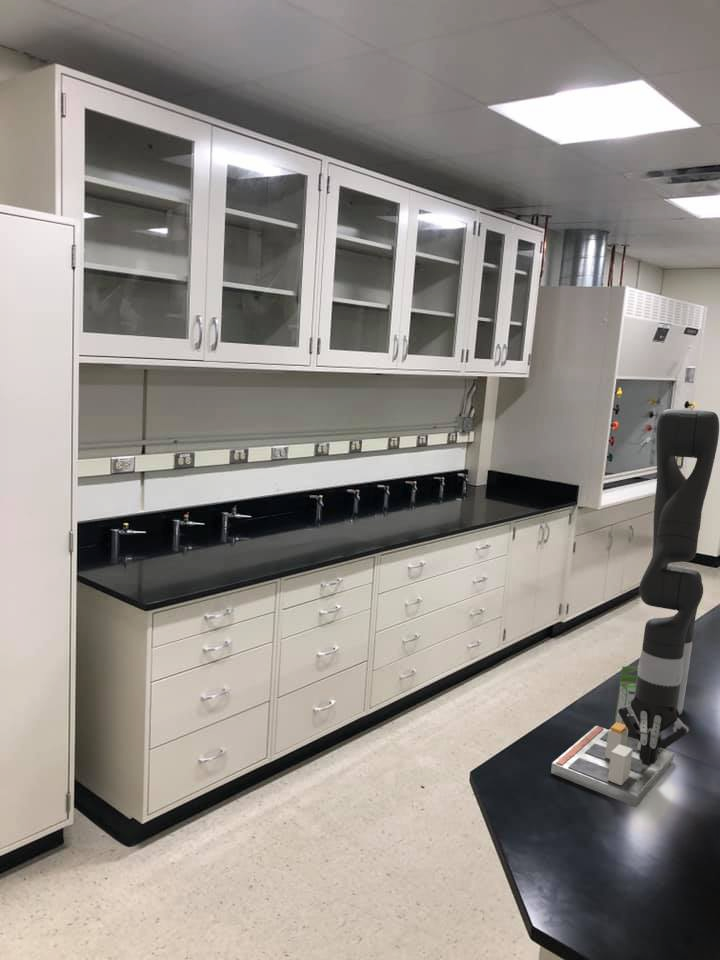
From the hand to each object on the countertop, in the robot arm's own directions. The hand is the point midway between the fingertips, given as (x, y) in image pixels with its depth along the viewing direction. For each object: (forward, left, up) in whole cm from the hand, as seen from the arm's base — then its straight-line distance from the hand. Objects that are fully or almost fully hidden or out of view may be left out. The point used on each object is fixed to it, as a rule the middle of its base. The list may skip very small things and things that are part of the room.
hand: (647, 763), depth 144 cm
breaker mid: (0, -6, -1) cm, 6 cm away
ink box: (-20, -9, -3) cm, 22 cm away
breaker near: (+8, -2, -1) cm, 9 cm away
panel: (0, -6, -3) cm, 7 cm away
